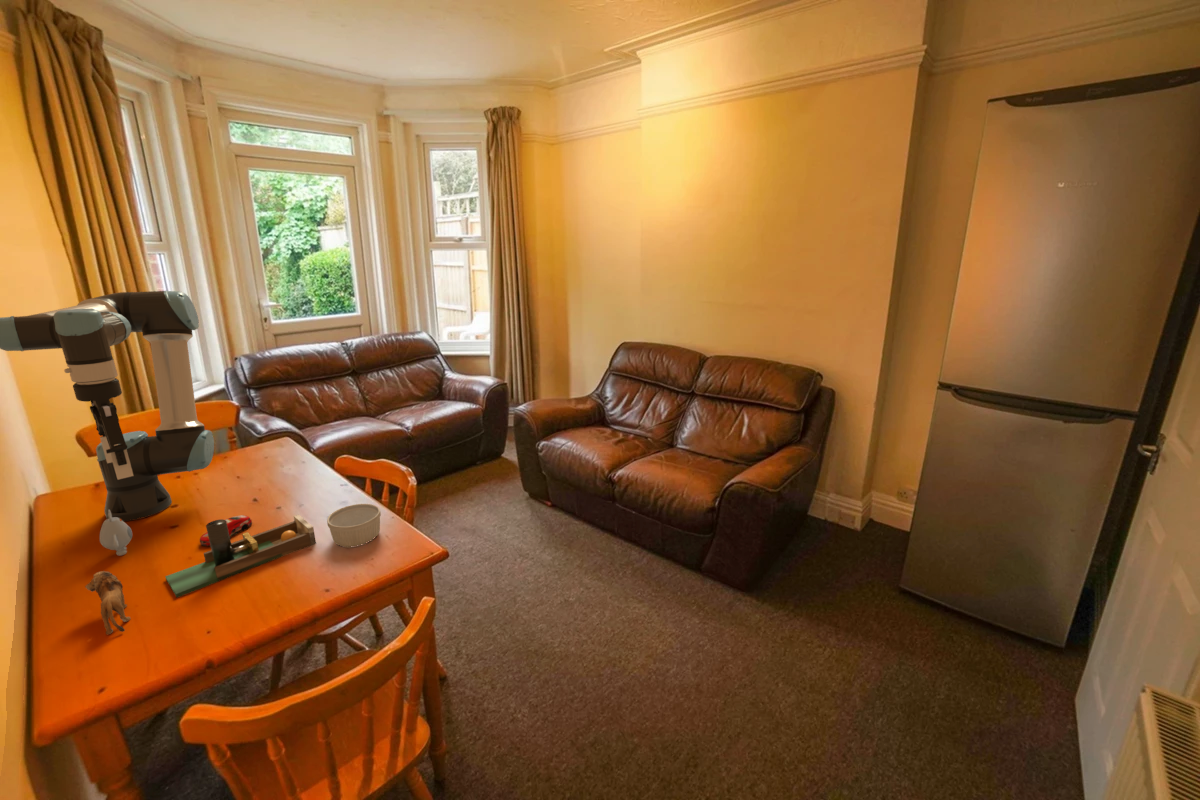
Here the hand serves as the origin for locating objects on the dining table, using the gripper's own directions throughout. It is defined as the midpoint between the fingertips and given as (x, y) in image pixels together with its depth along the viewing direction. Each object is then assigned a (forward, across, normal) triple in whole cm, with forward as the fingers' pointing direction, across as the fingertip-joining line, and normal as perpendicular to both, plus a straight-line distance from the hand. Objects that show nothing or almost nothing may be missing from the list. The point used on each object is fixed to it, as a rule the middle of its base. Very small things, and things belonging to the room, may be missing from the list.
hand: (120, 469), depth 123 cm
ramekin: (+27, +24, +41) cm, 55 cm away
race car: (+27, -4, +18) cm, 33 cm away
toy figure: (+27, -14, -3) cm, 30 cm away
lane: (+27, +14, +17) cm, 35 cm away
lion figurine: (+27, +17, -9) cm, 33 cm away
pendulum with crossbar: (+25, +14, +15) cm, 33 cm away
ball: (+25, +14, +28) cm, 40 cm away
